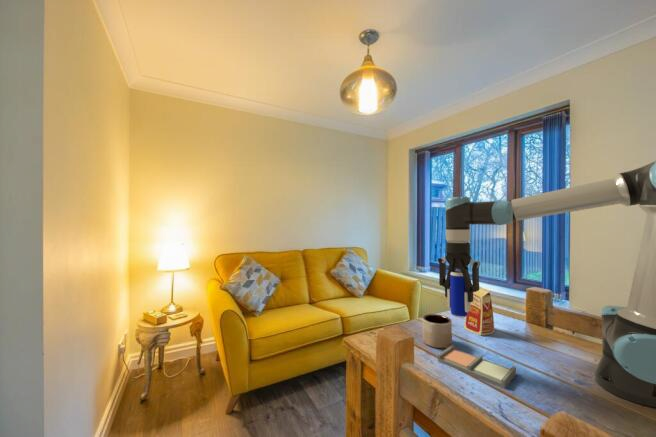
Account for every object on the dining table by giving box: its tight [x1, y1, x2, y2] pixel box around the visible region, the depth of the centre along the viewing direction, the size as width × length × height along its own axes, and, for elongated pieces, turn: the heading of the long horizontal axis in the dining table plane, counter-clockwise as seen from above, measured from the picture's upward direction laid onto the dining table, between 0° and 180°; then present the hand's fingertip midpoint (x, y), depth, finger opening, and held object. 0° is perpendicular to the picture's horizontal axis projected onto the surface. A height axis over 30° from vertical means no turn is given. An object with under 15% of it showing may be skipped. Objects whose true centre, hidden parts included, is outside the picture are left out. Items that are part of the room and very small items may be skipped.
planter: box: [422, 313, 453, 350], centre depth 106 cm, size 11×11×10 cm
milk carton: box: [463, 285, 495, 336], centre depth 117 cm, size 9×9×20 cm
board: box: [437, 344, 517, 389], centre depth 88 cm, size 20×11×2 cm, turn 40°
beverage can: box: [450, 270, 467, 319], centre depth 92 cm, size 5×5×15 cm
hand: (458, 308), depth 92 cm, fingers closed on beverage can, 5 cm apart
